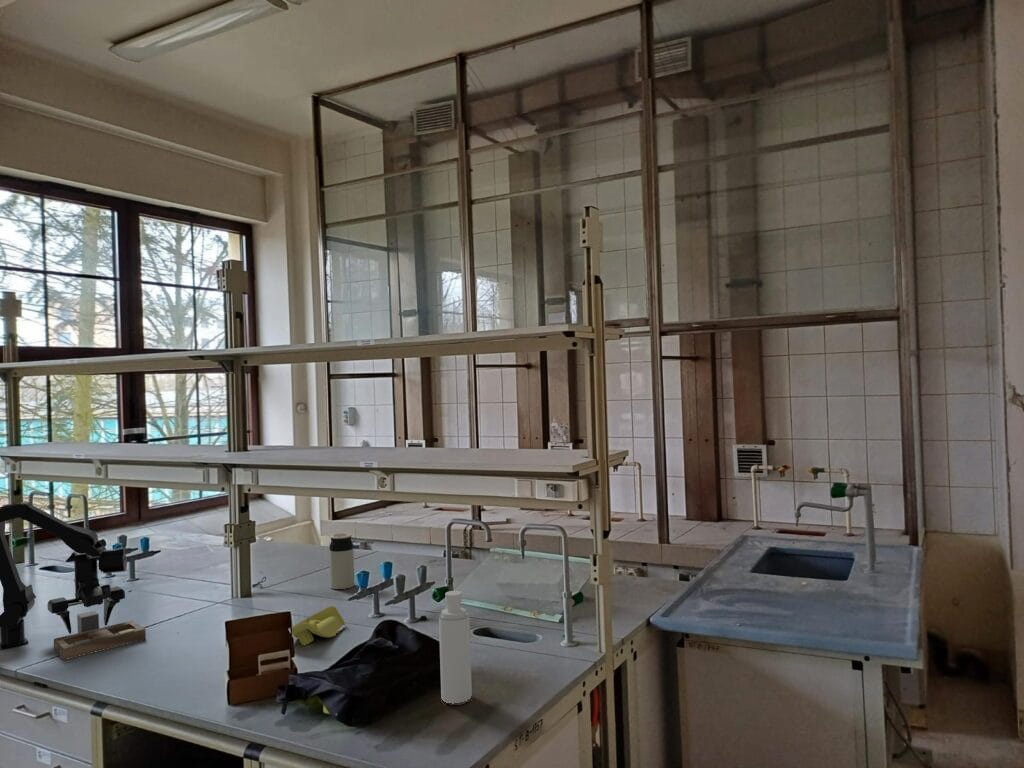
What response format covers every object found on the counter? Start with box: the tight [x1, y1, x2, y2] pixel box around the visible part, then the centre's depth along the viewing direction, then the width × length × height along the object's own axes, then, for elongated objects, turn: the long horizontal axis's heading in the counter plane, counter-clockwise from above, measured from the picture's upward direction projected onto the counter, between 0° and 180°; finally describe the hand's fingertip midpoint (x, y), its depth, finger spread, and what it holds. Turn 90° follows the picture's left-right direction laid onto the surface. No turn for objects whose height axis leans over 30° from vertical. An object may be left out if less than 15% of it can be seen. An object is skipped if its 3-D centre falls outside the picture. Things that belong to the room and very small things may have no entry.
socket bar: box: [53, 620, 147, 660], centre depth 203 cm, size 11×20×3 cm, turn 134°
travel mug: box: [329, 532, 355, 590], centre depth 253 cm, size 8×8×18 cm
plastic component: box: [291, 605, 346, 646], centre depth 203 cm, size 20×7×10 cm
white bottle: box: [438, 590, 473, 704], centre depth 161 cm, size 7×7×25 cm
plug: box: [76, 610, 100, 633], centre depth 211 cm, size 4×4×6 cm
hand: (88, 629), depth 211 cm, fingers open, 9 cm apart
